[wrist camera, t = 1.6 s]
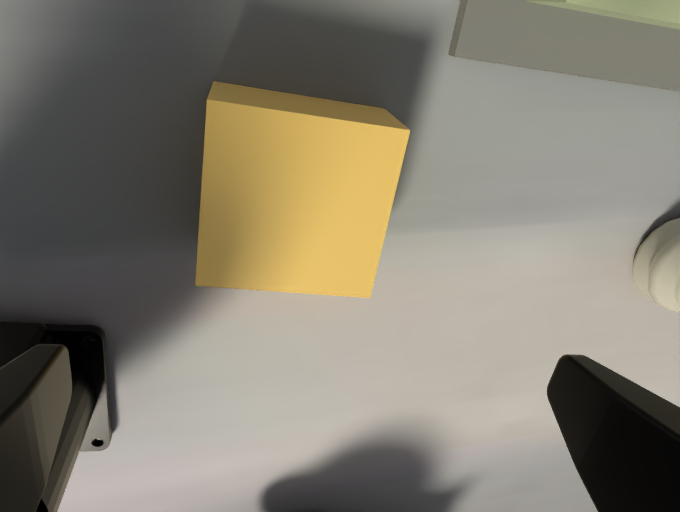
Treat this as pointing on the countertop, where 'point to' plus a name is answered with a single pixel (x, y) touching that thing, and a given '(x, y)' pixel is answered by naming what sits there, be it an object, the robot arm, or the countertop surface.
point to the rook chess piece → (660, 266)
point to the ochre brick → (295, 191)
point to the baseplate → (576, 37)
